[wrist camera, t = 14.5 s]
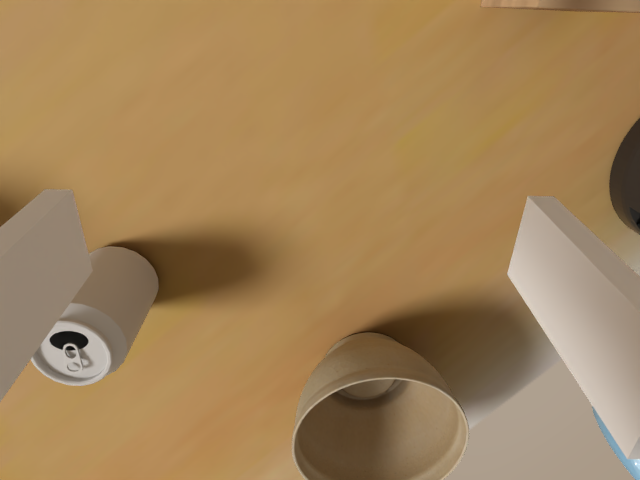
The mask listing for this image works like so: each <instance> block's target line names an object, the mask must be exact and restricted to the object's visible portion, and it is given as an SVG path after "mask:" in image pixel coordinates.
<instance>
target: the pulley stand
mask: <svg viewBox="0 0 640 480" xmlns="http://www.w3.org/2000/svg"><path fill="white" fill-rule="evenodd" d="M481 7H496V8H517V9H539V10H561V11H586V12H634V13H640V0H482V3H481Z"/></svg>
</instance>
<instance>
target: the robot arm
mask: <svg viewBox="0 0 640 480" xmlns="http://www.w3.org/2000/svg"><path fill="white" fill-rule="evenodd" d="M610 197H611V201H612V204H613V207H614V209H615V211H616V213H617V215H618V216H619V218H620V219H621V220H622V221H623V222H624V223H625V224H626V225H627V226H628V227H629V228H631V229H632V230H634V231H635V232H637V233H638V234H640V119H639V120H638V121H637V122H636V123H635V124H634V125H633V127H632V128H631V129H630V131H629V132H628V134H627V135H626V137H625V138H624V140H623V142H622V143H621V145H620V147H619V149H618V151H617V154H616V156H615V159H614V162H613V165H612V169H611V174H610ZM92 271H93V270H92V266H91V262H90V258H89V254H88V250H87V246H86V242H85V238H84V234H83V230H82V226H81V222H80V218H79V214H78V210H77V206H76V202H75V198H74V195H73V191H72V190H55V189H45V190H43V191H42V192H41V193H40V194H39V195H38V196H36V197H35V198H34V199H33V200H32V201H30V202H29V203H28V204H27V205H26V206H25V207H23V208H22V209H21V210H20V211H19V212H17V213H16V214H15V215H14V216H13V217H12V218H10V219H9V220H8V221H7V222H6V223H5V224H3V225H2V226H1V227H0V402H1V400H2V399H3V397H4V396H5V395H6V393H7V392H8V390H9V389H10V387H11V386H12V385H13V383H14V382H15V380H16V379H17V378H18V376H19V375H20V373H21V372H22V370H23V369H24V368H25V366H26V365H27V363H28V362H29V361H30V359H31V358H32V356H33V355H34V353H35V352H36V351H37V349H38V348H39V346H40V345H41V344H42V342H43V341H44V339H45V338H46V336H47V335H48V334H49V332H50V331H51V329H52V328H53V327H54V325H55V324H56V322H57V321H58V319H59V318H60V317H61V315H62V314H63V312H64V311H65V310H66V308H67V307H68V305H69V304H70V302H71V301H72V300H73V298H74V297H75V295H76V294H77V293H78V291H79V290H80V288H81V287H82V285H83V284H84V283H85V281H86V280H87V278H88V277H89V276H90V274H91V273H92ZM507 275H508V276H509V278H510V279H511V281H512V283H513V284H514V286H515V287H516V289H517V290H518V292H519V293H520V295H521V296H522V298H523V300H524V301H525V303H526V304H527V306H528V307H529V309H530V310H531V312H532V313H533V315H534V316H535V318H536V320H537V321H538V323H539V324H540V326H541V327H542V329H543V330H544V332H545V333H546V335H547V336H548V338H549V340H550V341H551V343H552V344H553V346H554V347H555V349H556V350H557V352H558V353H559V355H560V356H561V358H562V360H563V361H564V362H565V364H566V366H567V367H568V369H569V370H570V372H571V373H572V375H573V376H574V378H575V380H576V381H577V383H578V384H579V386H580V387H581V389H582V390H583V392H584V393H585V395H586V396H587V398H588V399H589V401H590V403H591V404H592V408H593V413H594V415H595V418H596V420H597V423H598V425H599V427H600V429H601V431H602V433H603V435H604V437H605V438H606V440H607V442H608V443H609V445H610V446H611V448H612V449H613V451H614V453H615V454H616V455H617V457H618V458H619V459H620V461H621V462H622V463H623V465H624V466H625V467H626V469H627V470H628V471H629V472H630V474H631V475H632V476H633V477H634V478H635V480H640V276H639V275H637V274H636V273H635V272H634V271H633V270H632V269H631V268H630V267H629V266H628V265H627V264H626V263H625V262H624V261H622V260H621V259H620V258H619V257H618V256H617V255H616V254H615V253H614V252H613V251H612V250H611V249H610V248H608V247H607V246H606V245H605V244H604V243H603V242H602V241H601V240H600V239H599V238H598V237H597V236H596V235H595V234H593V233H592V232H591V231H590V230H589V229H588V228H587V227H586V226H585V225H584V224H583V223H582V222H581V221H580V220H578V219H577V218H576V217H575V216H574V215H573V214H572V213H571V212H570V211H569V210H568V209H567V208H566V207H564V206H563V205H562V204H561V203H560V202H559V201H558V200H557V199H556V198H555V197H554V196H528V198H527V201H526V205H525V209H524V213H523V216H522V220H521V224H520V228H519V232H518V235H517V239H516V243H515V247H514V250H513V254H512V258H511V262H510V266H509V269H508V273H507Z"/></svg>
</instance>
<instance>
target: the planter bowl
mask: <svg viewBox="0 0 640 480" xmlns="http://www.w3.org/2000/svg"><path fill="white" fill-rule="evenodd" d="M468 440H469V426H468V422H467V419H466V416H465V414H464V411H463V409H462V408H461V406H460V404H459V403H458V401H457V400H456V398H455V397H454V395H453V394H452V392H451V390H450V388H449V386H448V385H447V383H446V382H445V380H444V379H443V378H442V376H441V375H440V374H439V373H438V371H437V370H436V369H435V368H434V367H433V366H432V365H431V364H430V363H429V362H428V361H427V360H425V359H424V358H423V357H422V356H420V355H419V354H418V353H416V352H415V351H413V350H412V349H410V348H408V347H406V346H404V345H402V344H399V343H398V342H397V341H396V340H394V339H393V338H391V337H389V336H386V335H383V334H379V333H369V332H367V333H358V334H354V335H351V336H348V337H346V338H344V339H342V340H340V341H339V342H337V343H336V344H335V345H334V346H333V347H332V348H331V349H330V350H329V351H328V353H327V354H326V356H325V358H324V359H323V360H322V361H321V362H320V363H319V364H318V365H317V367H316V368H315V369H314V371H313V372H312V374H311V375H310V377H309V379H308V381H307V383H306V385H305V387H304V389H303V391H302V394H301V397H300V400H299V404H298V408H297V413H296V419H295V426H294V430H293V436H292V455H293V460H294V463H295V465H296V467H297V469H298V471H299V472H300V474H301V475H302V477H303V478H304V479H305V480H444V479H445V478H446V477H447V476H448V475H449V474H450V473H451V472H452V471H453V470H454V469H455V468H456V466H457V465H458V464H459V462H460V461H461V459H462V457H463V455H464V453H465V451H466V448H467V445H468Z"/></svg>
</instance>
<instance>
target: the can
mask: <svg viewBox="0 0 640 480" xmlns="http://www.w3.org/2000/svg"><path fill="white" fill-rule="evenodd" d="M89 258H90V262H91V266H92V270H93V271H92V273H91V274H90V276H89V277H88V278H87V280H86V281H85V283H84V284H83V285H82V287H81V288H80V290H79V291H78V293H77V294H76V295H75V297H74V298H73V300H72V301H71V302H70V304H69V305H68V307H67V308H66V310H65V311H64V312H63V314H62V315H61V317H60V318H59V319H58V321H57V322H56V324H55V325H54V327H53V328H52V329H51V331H50V332H49V334H48V335H47V336H46V338H45V339H44V341H43V342H42V344H41V345H40V346H39V348H38V349H37V351H36V352H35V353H34V355H33V356H32V358H31V361H32V362H33V364H34V366H35V367H36V368H37V369H38V370H39V371H40V372H42V373H43V374H44V375H45V376H47V377H49V378H50V379H52V380H54V381H56V382H60V383H63V384H67V385H76V386H83V385H88V384H93V383H95V382H97V381H99V380H101V379H103V378H104V377H105V376H106V375H108V374H110V373H112V372H114V371H116V370H117V369H118V368H119V366H120V365H121V364H122V363H123V362H124V360H125V358H126V356H127V354H128V352H129V350H130V348H131V346H132V344H133V342H134V340H135V338H136V336H137V334H138V332H139V330H140V328H141V326H142V324H143V322H144V320H145V318H146V316H147V314H148V312H149V310H150V308H151V306H152V304H153V302H154V300H155V298H156V295H157V292H158V289H159V286H158V277H157V275H156V272H155V270H154V268H153V267H152V265H151V264H150V263H149V262H148V261H147V260H146V259H145V258H144V257H142V256H141V255H139V254H138V253H136V252H135V251H132V250H129V249H126V248H123V247H113V246H109V247H104V248H99V249H96V250H95V251H93V252H91V253H90V254H89Z"/></svg>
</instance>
